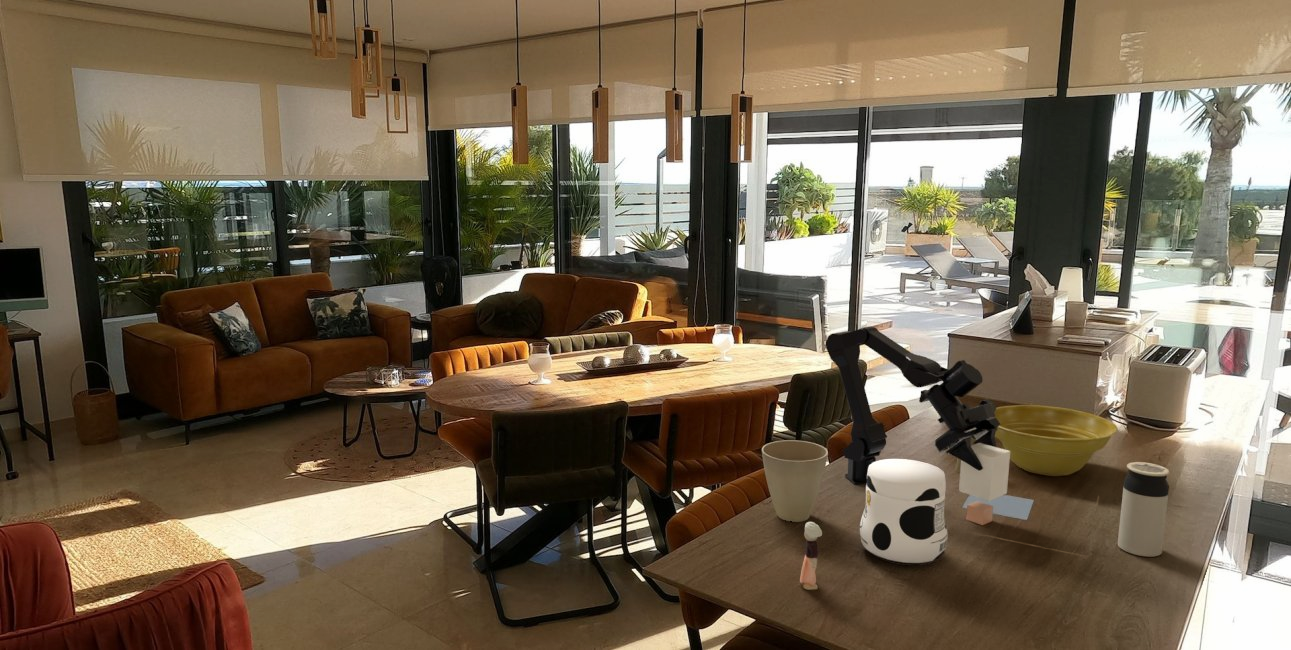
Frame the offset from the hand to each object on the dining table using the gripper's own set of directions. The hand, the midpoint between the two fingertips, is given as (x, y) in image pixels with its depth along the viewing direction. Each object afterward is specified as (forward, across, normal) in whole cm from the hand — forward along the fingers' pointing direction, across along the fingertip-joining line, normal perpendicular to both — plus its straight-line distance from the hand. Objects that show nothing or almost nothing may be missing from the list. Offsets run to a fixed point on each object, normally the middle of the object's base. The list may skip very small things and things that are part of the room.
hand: (990, 466), depth 183 cm
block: (+9, -1, +10) cm, 14 cm away
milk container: (+8, -28, +12) cm, 32 cm away
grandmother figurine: (+6, -54, +13) cm, 56 cm away
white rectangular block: (+4, 0, +6) cm, 7 cm away
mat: (+7, +12, +12) cm, 18 cm away
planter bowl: (+3, +47, +17) cm, 50 cm away
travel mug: (+29, +12, -10) cm, 33 cm away
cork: (-5, +27, +24) cm, 36 cm away
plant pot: (-11, -32, +31) cm, 46 cm away
